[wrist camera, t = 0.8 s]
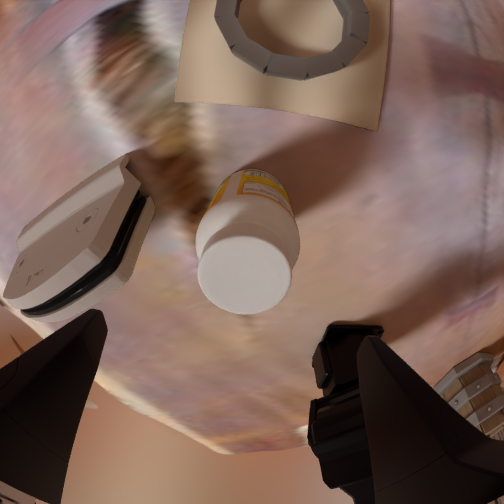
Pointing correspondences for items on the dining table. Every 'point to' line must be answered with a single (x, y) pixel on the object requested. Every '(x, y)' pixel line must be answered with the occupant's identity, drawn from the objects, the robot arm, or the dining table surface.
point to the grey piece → (80, 246)
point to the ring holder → (287, 56)
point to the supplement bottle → (247, 243)
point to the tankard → (475, 393)
